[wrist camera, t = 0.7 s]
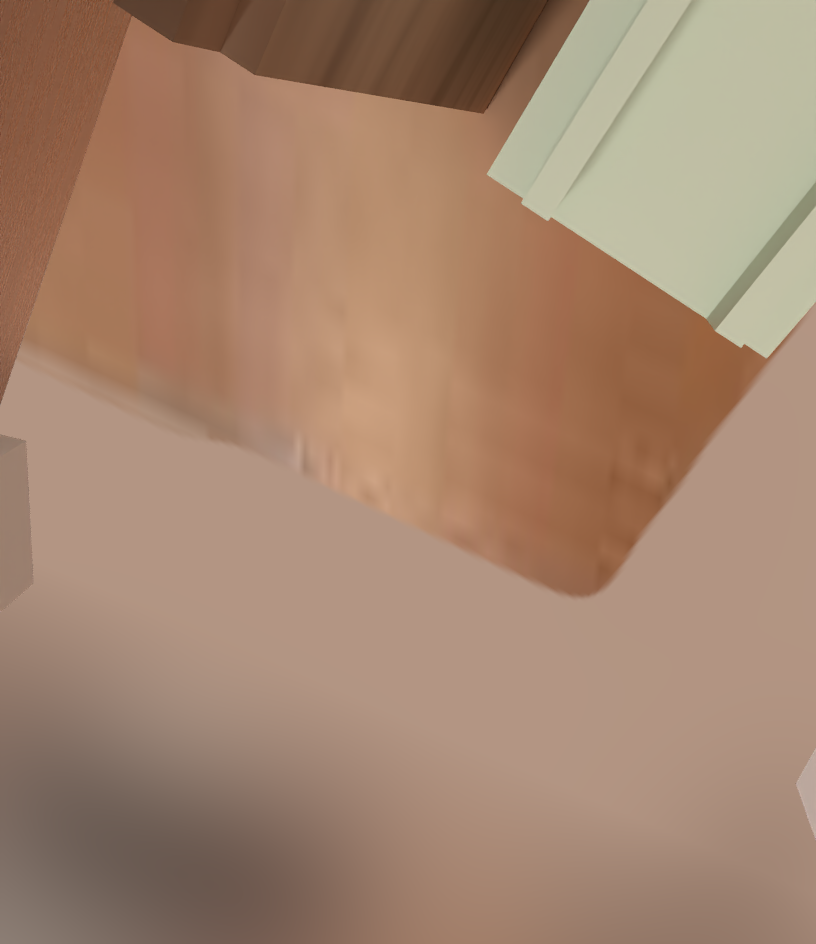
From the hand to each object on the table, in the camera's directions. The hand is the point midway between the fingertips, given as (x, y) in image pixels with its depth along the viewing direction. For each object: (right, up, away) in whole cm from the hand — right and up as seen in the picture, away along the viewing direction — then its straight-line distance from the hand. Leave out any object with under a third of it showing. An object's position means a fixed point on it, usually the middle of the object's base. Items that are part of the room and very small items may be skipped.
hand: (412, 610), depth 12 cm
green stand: (+13, +21, +27) cm, 37 cm away
